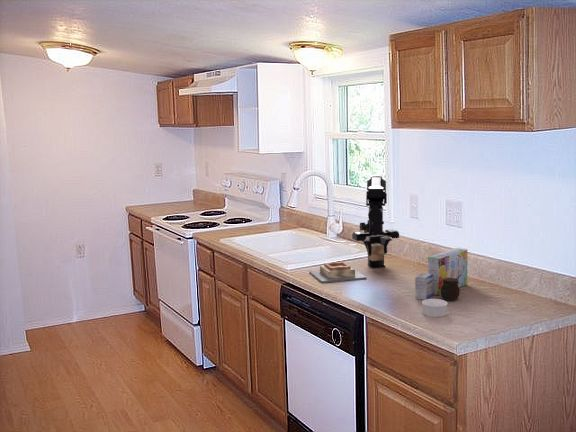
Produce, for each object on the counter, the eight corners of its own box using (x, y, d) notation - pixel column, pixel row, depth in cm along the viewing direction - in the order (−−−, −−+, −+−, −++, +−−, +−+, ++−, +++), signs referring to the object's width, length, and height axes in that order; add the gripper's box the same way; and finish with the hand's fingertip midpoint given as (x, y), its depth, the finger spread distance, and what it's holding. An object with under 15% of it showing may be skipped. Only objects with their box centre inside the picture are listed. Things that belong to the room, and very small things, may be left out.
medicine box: (425, 300, 246) (426, 278, 245) (414, 298, 249) (415, 276, 247) (433, 295, 253) (433, 273, 251) (422, 293, 255) (422, 272, 254)
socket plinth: (345, 269, 292) (345, 260, 291) (355, 276, 280) (355, 266, 279) (320, 272, 289) (319, 262, 288) (328, 278, 277) (328, 269, 276)
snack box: (455, 282, 270) (456, 247, 268) (467, 285, 266) (468, 249, 264) (426, 293, 256) (427, 256, 253) (439, 296, 252) (440, 258, 249)
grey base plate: (351, 269, 296) (351, 267, 295) (366, 279, 278) (366, 277, 278) (309, 272, 291) (309, 271, 290) (321, 283, 273) (321, 281, 273)
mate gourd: (437, 297, 250) (438, 271, 249) (456, 296, 251) (457, 271, 249) (443, 302, 243) (444, 276, 242) (463, 301, 244) (464, 275, 242)
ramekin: (450, 317, 226) (451, 305, 225) (425, 318, 225) (425, 306, 225) (442, 309, 235) (442, 298, 234) (418, 310, 234) (418, 299, 233)
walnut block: (378, 257, 272) (378, 243, 271) (383, 260, 268) (383, 245, 267) (367, 258, 271) (367, 244, 270) (372, 261, 266) (372, 246, 265)
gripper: (388, 214, 277) (388, 249, 279) (347, 216, 272) (347, 253, 275) (399, 218, 266) (399, 255, 269) (357, 221, 261) (357, 258, 264)
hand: (375, 255), depth 269 cm, fingers closed on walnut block, 5 cm apart
